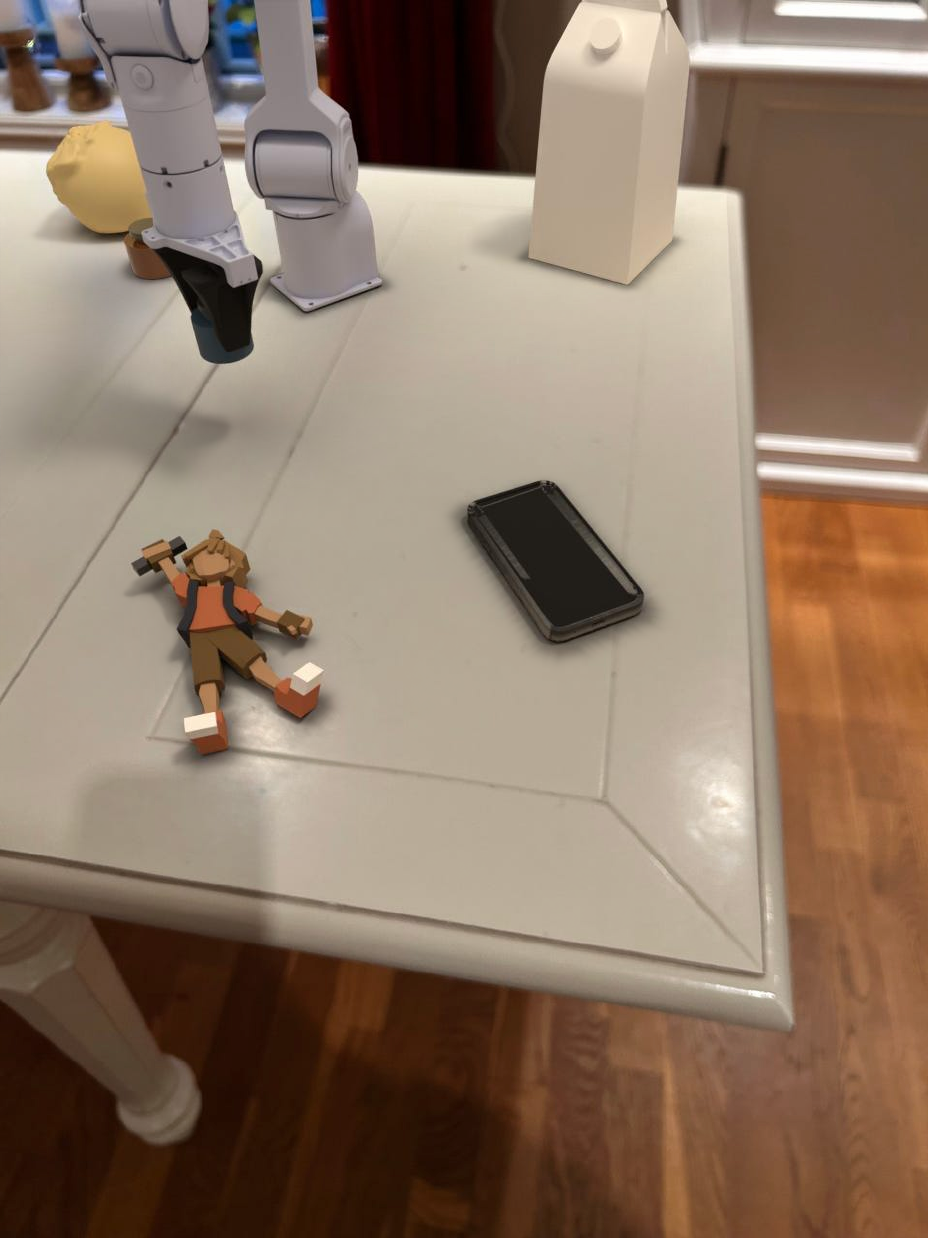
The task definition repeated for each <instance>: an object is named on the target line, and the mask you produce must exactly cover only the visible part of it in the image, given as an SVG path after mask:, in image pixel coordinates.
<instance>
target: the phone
mask: <svg viewBox="0 0 928 1238" xmlns="http://www.w3.org/2000/svg"><path fill="white" fill-rule="evenodd" d="M466 511H467V512H466V513H467V514H466V515H467V519H466V520H467V524H468V525H469V526H470V528H471V529H472V531H473V532H474V534H475V536H476V538H478V540H479V542H480V543H481V545H482V546H483V547H484V549H485V550H486V552H487V553H488V555H489V556H490V558H491V560H492V561H493V562H494V564H495V565H496V566H497V568H498V569H499V571H500V572H501V574H502V575H503V577H504V578H505V580H506V582H507V583H508V584H509V585H510V588H512V590H513V592H514V593H515V595H516V596H517V597H518V599H519V600H520V602H521V603H522V605H523V606H524V608H525V609H526V611H527V612H528V613H529V615H530V616H531V618H532V620H533V622H534V623H535V624H536V625H537V627H538V628H539V630H540V631H541V633H542V634H543V636H545V637H546V639H548V640H550V641H553V642H560V643H562V642H567V641H569V640H572V639H575V638H577V637H580V636H584V635H586V634H589V633H591V632H594V631H597V630H599V629H603V628H605V627H607V626H611V625H614V624H616V623H618V622H621V621H625V620H627V619H629V618H632V617H636V616H637V615H639V614H640V612H641V611H642V609H643V605H644V599H645V593H644V591H643V589H642V588H641V586H640V585H639V584H638V583H637V581H636V580H635V579H634V578H633V577H632V575H631V574H630V573H629V572H628V570H627V569H626V568H625V567H624V566H623V564H622V563H621V562H620V561H619V560H618V558H617V557H616V556H615V554H614V553H613V552H612V551H611V550H610V548H609V547H608V546H607V544H606V543H605V542H604V541H603V540H602V539H601V537H600V536H599V535H598V533H597V532H596V531H595V530H594V529H593V528H592V526H591V525H590V524H589V522H588V521H587V520H586V519H585V518H584V516H583V515H582V514H581V512H580V511H579V510H578V509H577V508H576V507H575V505H574V504H573V503H572V502H571V500H570V499H569V497H568V496H567V495H566V494H565V493H564V492H563V490H562V489H561V488H560V487H559V486H558V485H557V484H556V482H554V481H551V480H547V479H540V480H536V481H534V482H530V483H526V484H523V485H521V486H517V487H513V488H511V489H507V490H504V491H500V492H498V493H494V494H492V495H488V496H485V497H482V498H479V499H475V500H473V501H471V502H470V503H469V504H468V505H467V510H466Z"/></svg>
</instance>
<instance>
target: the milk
mask: <svg viewBox="0 0 928 1238" xmlns="http://www.w3.org/2000/svg"><path fill="white" fill-rule="evenodd" d="M556 44H557V45H556V46H555V48H554V50H553V52H552V53H551V56H550V58H549V61H548V63H547V65H546V69H545V72H544V78H543V86H542V99H541V109H540V120H539V121H540V122H539V130H538V131H539V132H538V141H537V142H538V143H537V156H536V164H535V165H536V167H535V177H534V190H533V201H532V212H531V221H530V222H531V223H530V233H529V234H530V235H529V244H528V245H529V246H528V255H527V256H528V257H527V258H528V259H531V260H536V261H539V262H543V263H546V264H550V265H554V266H557V267H561V268H564V269H568V270H571V271H575V272H579V273H583V274H586V275H590V276H593V277H597V278H600V279H605V280H608V281H611V282H614V283H615V282H616V283H618V284H623V285H625V286H626V285H627V286H628V285H629V284H630V283H631V282H632V281H633V280H635V278H636V277H638V275H639V274H640V273H642V271H644V269H646V267H647V266H649V264H650V263H651V262H652V261H653V260H654V259H656V258H657V256H659V254H661V252H663V251H664V249H666V248H667V247H668V246H669V245H670V244H671V242H673V238H674V229H675V228H674V227H675V217H676V207H677V198H678V187H679V176H680V167H681V158H682V149H683V137H684V125H685V118H686V107H687V97H688V86H689V76H690V64H691V63H690V62H691V58H690V51H689V48H688V45H687V43H686V41H685V38H684V37H683V35H682V33H681V31H680V29H679V28H678V25H677V23H676V22H675V19H674V18H673V16H672V14H671V12H670V11H669V10H668V2H667V0H581V2H579V3H578V5H577V7H576V9H575V11H574V13H573V14H572V16H571V19H570V20H569V22H568V23H567V26H566V28H565V29H564V31H563V33H562V35H561V37H560V39H559V41H558V42H557V43H556Z"/></svg>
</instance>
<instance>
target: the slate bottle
mask: <svg viewBox="0 0 928 1238" xmlns="http://www.w3.org/2000/svg"><path fill="white" fill-rule="evenodd" d="M197 304H198V307H197V308H196V309H195V310H194V311H193V312H192V314H191V313H190V321H191V322H190V323H191V326H192V328H193V333H194V337H195V340H196V345H197V347H198V352H199V355H200V357H201V358H202V359H203V360H204V361H206V362H208V363H210V364H216V365H227V364H233V363H237V362H240V361H242V360H245V359H246V358H247V357H249V356H250V355H252V353H253V351H254V348H255V343H254V339H253V333H252V332H251V340H250V345H248V346H245V347H243V348H240V349H237V350H235V351H232V352H229V353H228V352H226V351H225V350H224V349H223V347H222V345H221V344H220V342H219V340H218V338H217V336H216V333H215V331H214V328H213V326H212V323H211V321H210V318H209V316H208V313H207V311H206V309H205V307H204V305H203V303H202V302H201V300H200V298H199V299H198V300H197Z"/></svg>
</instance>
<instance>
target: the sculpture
mask: <svg viewBox="0 0 928 1238" xmlns="http://www.w3.org/2000/svg"><path fill="white" fill-rule="evenodd" d="M45 168H46V169H45V174H46V176H47V178H48V181H49V183H50V185H51V187H52V192H53V193H54V195H55V196H56V198H57V200H58V202H59V203H60V204H62V205H64V206H65V208H66V207H67V209H68V210H69V211H70V213H71V214H72V215H73V216H74V217H75V218H76V219H77V220H78V221H79V222H80V223H81V224H82V225H83V226H85V227H86V228H88V229H89V230H90V231H93V232H95V233H99V234H117V233H125V232H129V231H128V227H129V225H130V224H131V223H133V222H135V221H137V220H140V219H144V218H152V216H151V213H150V209H149V206H148V202H147V199H146V195H145V191H146V187H145V184H144V180H143V177H142V173H141V170H140V166H139V162H138V159H137V155H136V152H135V148H134V144H133V141H132V137H131V134H130V130H128V129H127V130H126V129H124V128H120V127H117V126H113V125H112V124H111V122H110V121H109V120H107V119H106V120H104V121H97V122H95V123H93V124H90V125H86V124H85V125H81V124H80V125H77V126H76V125H75V126H72V127H71V128H70V129H68V130H67V133H66V135H65V136H64V138H63V139H62V140H61V142H60V144H58V146H57V147H56V150H55V151H54V153H53V154H52V156H51V157H50V158H49V159H48V161H47V162H46V167H45Z"/></svg>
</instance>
